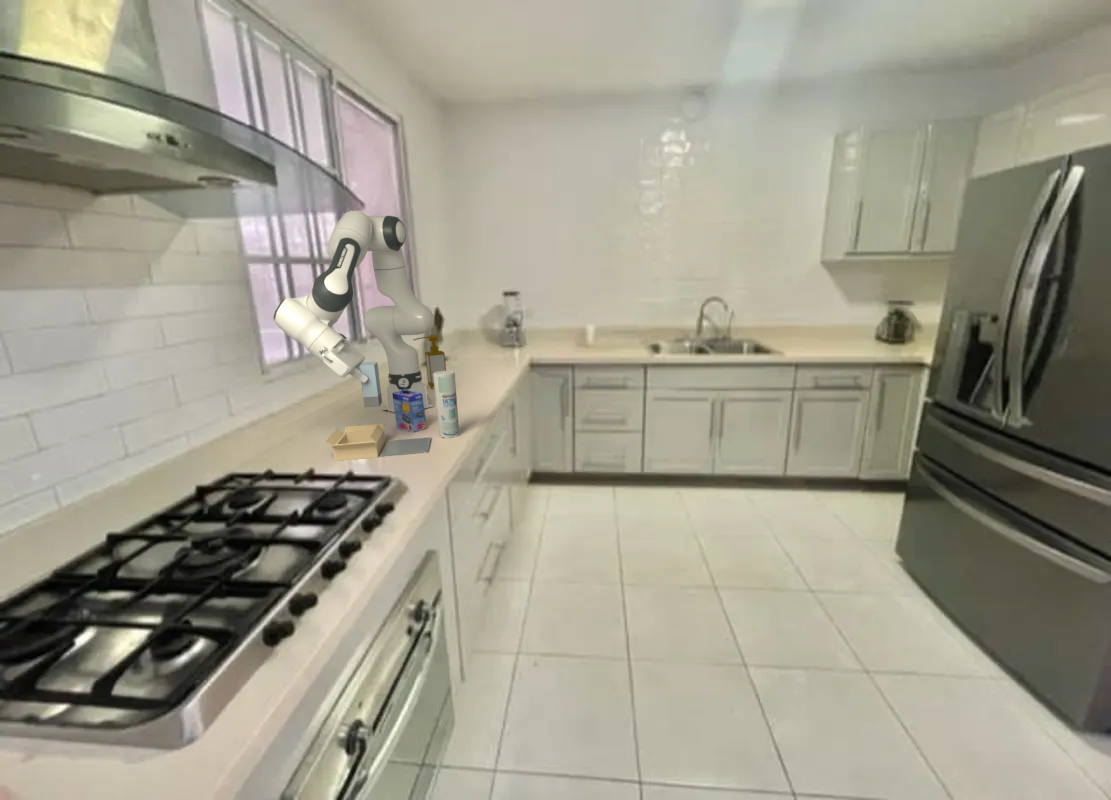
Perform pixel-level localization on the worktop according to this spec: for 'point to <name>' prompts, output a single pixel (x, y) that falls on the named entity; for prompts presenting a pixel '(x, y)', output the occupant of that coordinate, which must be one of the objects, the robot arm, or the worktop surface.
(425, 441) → the plate
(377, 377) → the blue-grey rectangular block
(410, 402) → the ink cartridge box
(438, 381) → the spray can
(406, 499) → the worktop surface
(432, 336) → the soap bottle
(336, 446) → the carton
